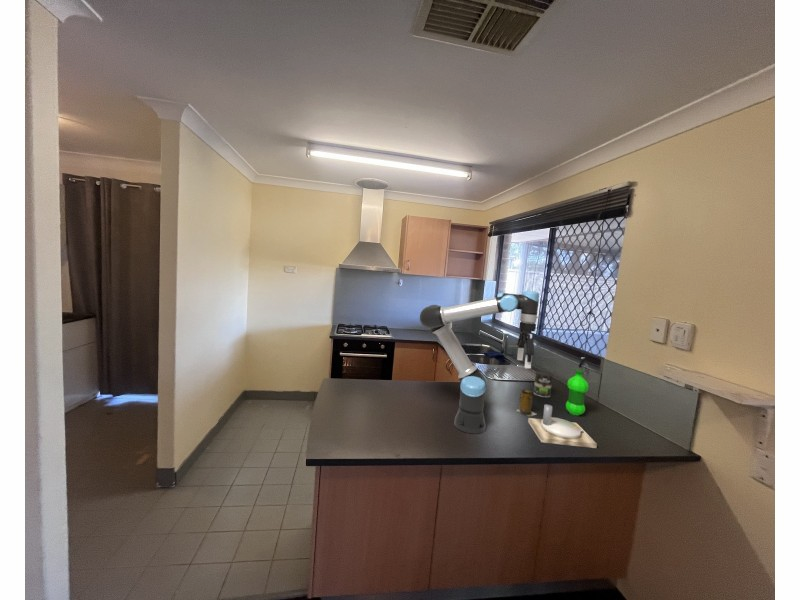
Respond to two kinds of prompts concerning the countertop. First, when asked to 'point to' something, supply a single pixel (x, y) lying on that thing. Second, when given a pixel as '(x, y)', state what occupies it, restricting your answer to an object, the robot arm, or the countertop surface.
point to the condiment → (526, 403)
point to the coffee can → (542, 383)
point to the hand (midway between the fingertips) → (523, 363)
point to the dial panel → (549, 438)
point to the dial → (559, 425)
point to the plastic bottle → (577, 393)
